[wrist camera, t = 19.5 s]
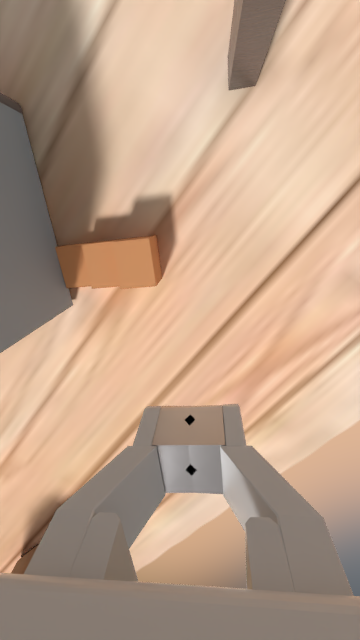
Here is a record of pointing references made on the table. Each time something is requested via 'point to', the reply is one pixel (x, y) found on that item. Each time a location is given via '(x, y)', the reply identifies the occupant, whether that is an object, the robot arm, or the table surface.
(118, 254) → the orange stepped block
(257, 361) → the table surface
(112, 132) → the table surface
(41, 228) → the door
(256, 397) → the table surface
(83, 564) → the robot arm
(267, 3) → the door frame
